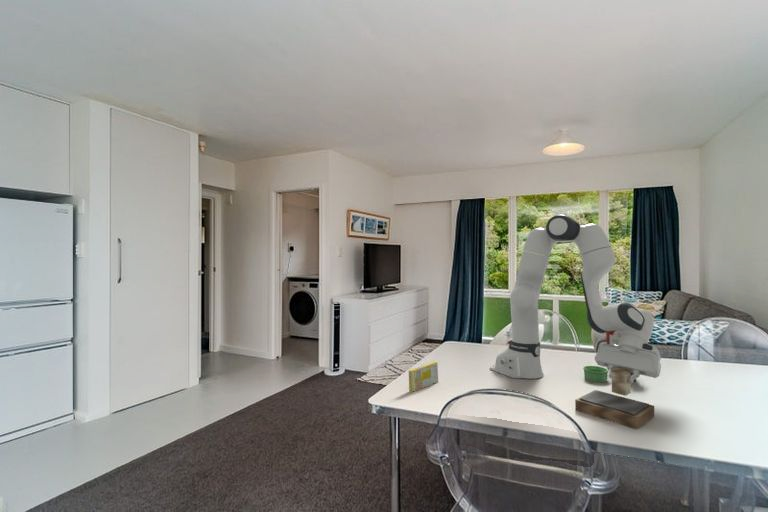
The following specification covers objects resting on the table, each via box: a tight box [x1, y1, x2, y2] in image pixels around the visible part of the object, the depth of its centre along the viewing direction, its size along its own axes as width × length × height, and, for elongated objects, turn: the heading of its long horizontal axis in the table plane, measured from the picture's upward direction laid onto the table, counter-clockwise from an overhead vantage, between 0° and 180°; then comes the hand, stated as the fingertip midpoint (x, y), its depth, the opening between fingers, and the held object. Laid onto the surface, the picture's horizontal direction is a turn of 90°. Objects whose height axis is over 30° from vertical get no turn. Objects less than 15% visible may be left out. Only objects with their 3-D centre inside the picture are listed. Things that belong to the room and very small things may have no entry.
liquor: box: [605, 330, 622, 345], centre depth 170 cm, size 7×7×28 cm
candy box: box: [408, 361, 439, 393], centre depth 150 cm, size 16×2×8 cm, turn 134°
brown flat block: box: [574, 389, 655, 430], centre depth 122 cm, size 18×14×4 cm
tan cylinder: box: [611, 368, 632, 396], centre depth 134 cm, size 4×4×8 cm
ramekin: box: [582, 365, 609, 383], centre depth 156 cm, size 9×9×4 cm
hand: (620, 379), depth 133 cm, fingers closed on tan cylinder, 4 cm apart
